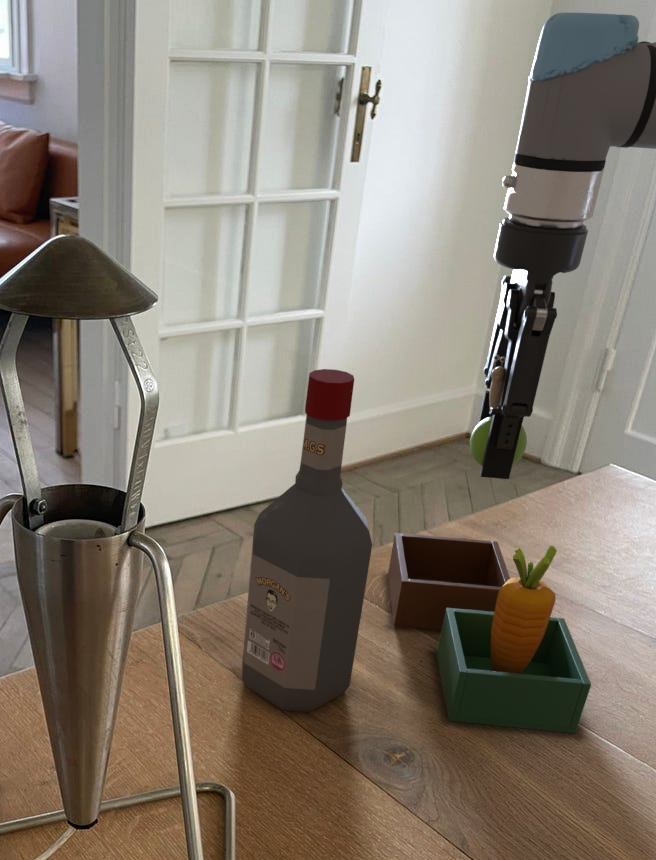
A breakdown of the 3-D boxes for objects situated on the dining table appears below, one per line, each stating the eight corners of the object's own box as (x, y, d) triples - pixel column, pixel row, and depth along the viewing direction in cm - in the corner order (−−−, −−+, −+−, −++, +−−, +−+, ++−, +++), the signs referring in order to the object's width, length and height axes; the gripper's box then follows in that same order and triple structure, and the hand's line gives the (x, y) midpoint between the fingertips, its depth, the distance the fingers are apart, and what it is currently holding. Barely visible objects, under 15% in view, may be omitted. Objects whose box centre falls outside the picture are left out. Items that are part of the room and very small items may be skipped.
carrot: (477, 697, 91) (511, 556, 83) (476, 668, 96) (509, 532, 87) (531, 706, 91) (571, 564, 82) (528, 676, 95) (566, 539, 87)
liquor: (297, 723, 88) (338, 402, 72) (227, 678, 94) (251, 371, 77) (361, 686, 93) (412, 380, 77) (291, 646, 99) (326, 352, 83)
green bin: (550, 664, 98) (564, 618, 95) (575, 733, 88) (591, 684, 85) (436, 653, 99) (446, 607, 96) (448, 720, 89) (460, 671, 86)
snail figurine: (449, 468, 98) (473, 349, 91) (482, 453, 102) (507, 338, 95) (497, 485, 95) (525, 363, 88) (529, 469, 98) (558, 350, 92)
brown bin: (487, 584, 111) (497, 541, 108) (503, 636, 102) (514, 591, 99) (387, 575, 112) (395, 532, 109) (393, 626, 103) (402, 581, 100)
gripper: (487, 201, 94) (442, 430, 106) (520, 235, 78) (463, 498, 91) (566, 205, 93) (512, 435, 106) (615, 241, 78) (545, 505, 90)
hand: (489, 464), depth 98 cm, fingers closed on snail figurine, 5 cm apart
